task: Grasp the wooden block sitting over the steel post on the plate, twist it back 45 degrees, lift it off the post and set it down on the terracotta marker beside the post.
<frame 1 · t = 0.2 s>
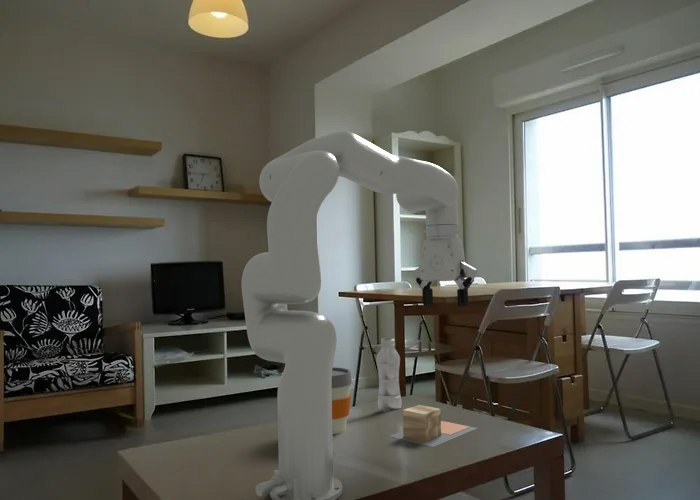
hand: (444, 305, 129), 30 cm above the table, tool pointing down, fingers open, 9 cm apart
wooden block: (422, 436, 121), point 1 cm above the table, touching post plate
plastic bottle: (389, 413, 149), on the table
post plate: (434, 438, 125), on the table
reusable coffee cup: (326, 436, 129), on the table
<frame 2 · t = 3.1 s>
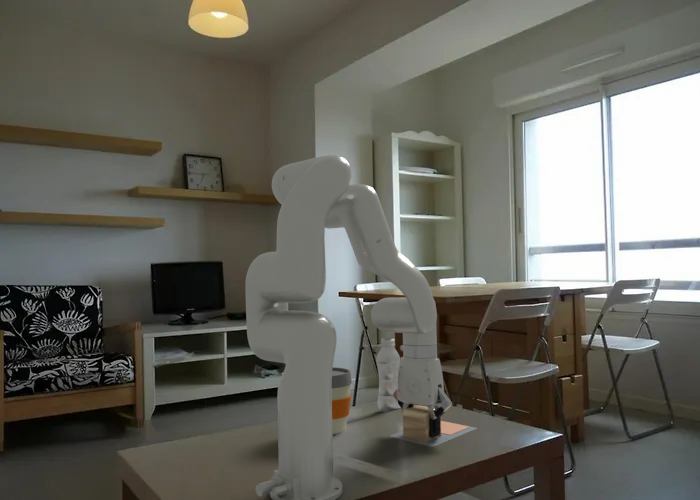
hand: (422, 432, 121), 2 cm above the table, tool pointing down, fingers closed on wooden block, 6 cm apart
wooden block: (422, 436, 121), point 2 cm above the table, touching gripper, post plate
everything else where it was.
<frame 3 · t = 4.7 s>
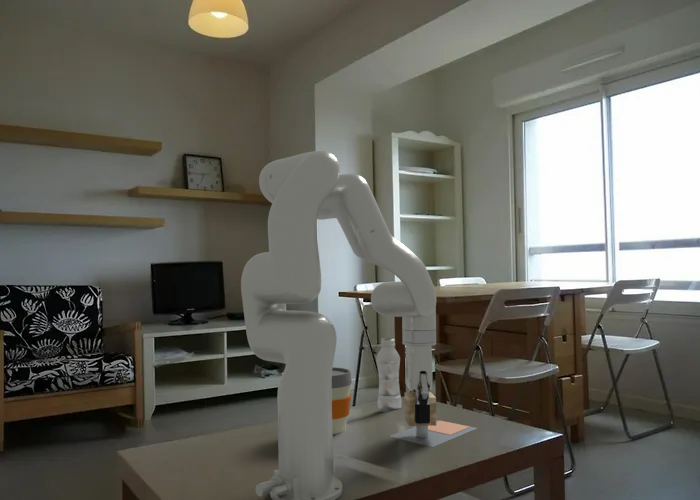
hand: (420, 418, 121), 6 cm above the table, tool pointing down, fingers closed on wooden block, 6 cm apart
wooden block: (420, 422, 121), point 5 cm above the table, touching gripper
everything else where it was.
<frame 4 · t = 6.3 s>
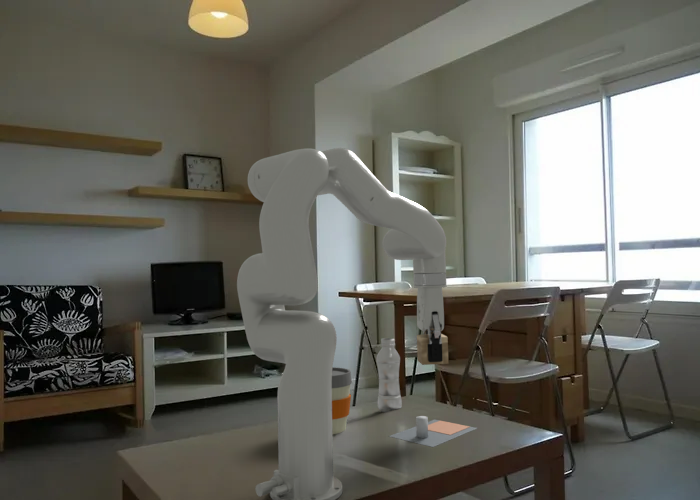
hand: (432, 358, 126), 18 cm above the table, tool pointing down, fingers closed on wooden block, 6 cm apart
wooden block: (432, 362, 126), point 17 cm above the table, touching gripper
everything else where it was.
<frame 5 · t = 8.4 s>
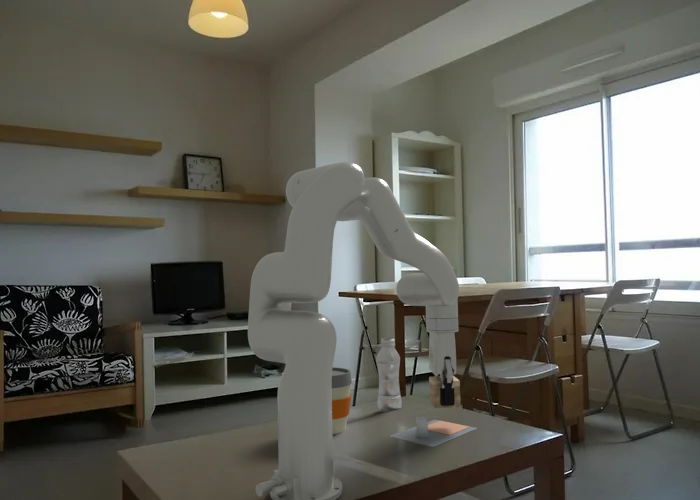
hand: (444, 401, 128), 8 cm above the table, tool pointing down, fingers closed on wooden block, 6 cm apart
wooden block: (444, 404, 128), point 7 cm above the table, touching gripper
everything else where it was.
when the fingers open (4 cm above the table, at t = 10.0 s): wooden block drops 2 cm, resting on post plate.
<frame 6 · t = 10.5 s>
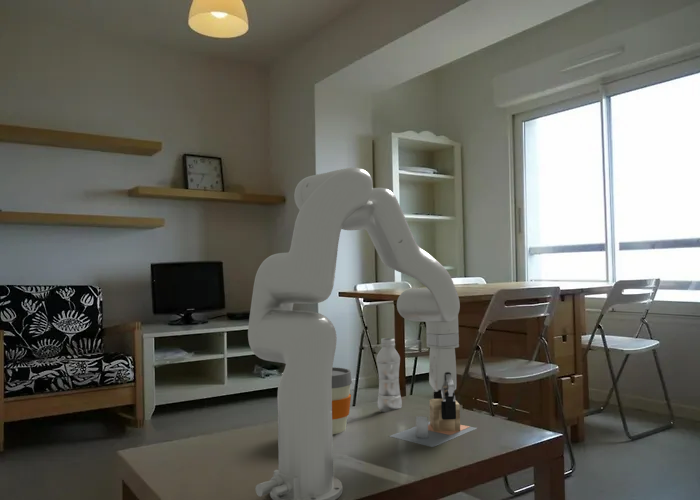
hand: (444, 413, 128), 5 cm above the table, tool pointing down, fingers open, 9 cm apart
wooden block: (444, 427, 128), point 2 cm above the table, touching post plate
everything else where it was.
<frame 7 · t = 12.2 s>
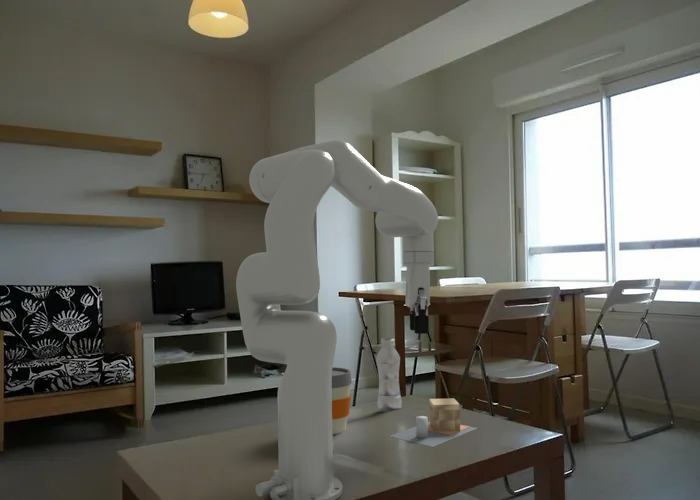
hand: (418, 331, 130), 24 cm above the table, tool pointing down, fingers open, 9 cm apart
nothing on the table moved.
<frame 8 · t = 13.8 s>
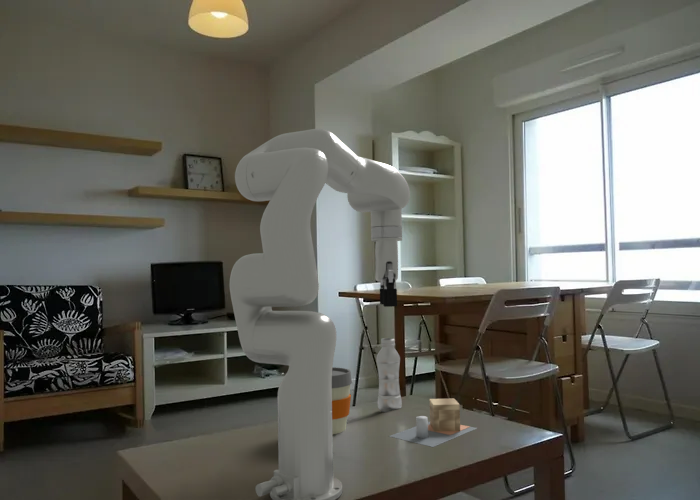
hand: (388, 305, 132), 30 cm above the table, tool pointing down, fingers open, 9 cm apart
nothing on the table moved.
at the end: wooden block 0.4 cm from the target spot, point 1.6 cm above the table; wooden block tilted 0°; the gripper is holding nothing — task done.
